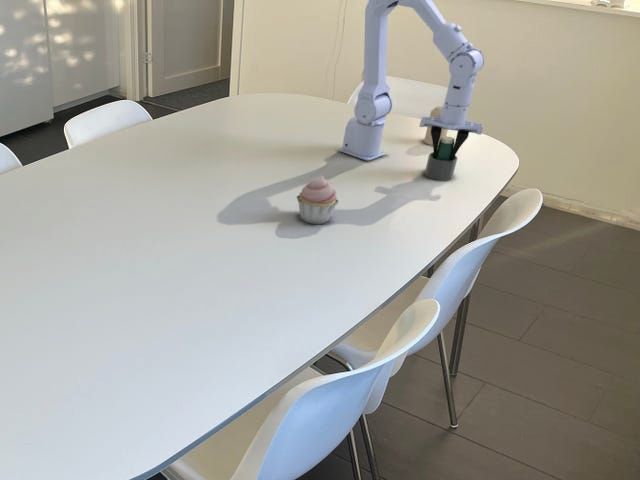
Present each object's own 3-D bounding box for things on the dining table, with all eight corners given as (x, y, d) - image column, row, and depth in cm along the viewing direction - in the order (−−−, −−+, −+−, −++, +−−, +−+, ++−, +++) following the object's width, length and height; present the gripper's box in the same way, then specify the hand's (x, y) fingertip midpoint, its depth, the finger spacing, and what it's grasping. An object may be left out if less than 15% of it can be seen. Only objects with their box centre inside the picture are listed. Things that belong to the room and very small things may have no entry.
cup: (419, 174, 187) (423, 155, 184) (434, 168, 191) (439, 149, 188) (442, 182, 183) (447, 163, 180) (457, 176, 187) (462, 157, 184)
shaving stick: (429, 168, 186) (437, 137, 182) (437, 165, 188) (445, 135, 183) (442, 173, 184) (450, 141, 179) (450, 170, 186) (458, 139, 181)
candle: (441, 140, 209) (450, 104, 204) (446, 146, 205) (455, 110, 199) (422, 138, 210) (430, 103, 204) (426, 145, 205) (434, 109, 199)
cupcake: (343, 218, 164) (351, 176, 158) (320, 231, 158) (328, 187, 153) (308, 206, 169) (315, 164, 163) (285, 218, 164) (291, 175, 158)
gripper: (424, 104, 175) (411, 159, 183) (488, 111, 171) (472, 167, 179) (426, 96, 181) (414, 150, 189) (488, 103, 177) (473, 158, 185)
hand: (442, 158), depth 184 cm, fingers closed on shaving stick, 3 cm apart
